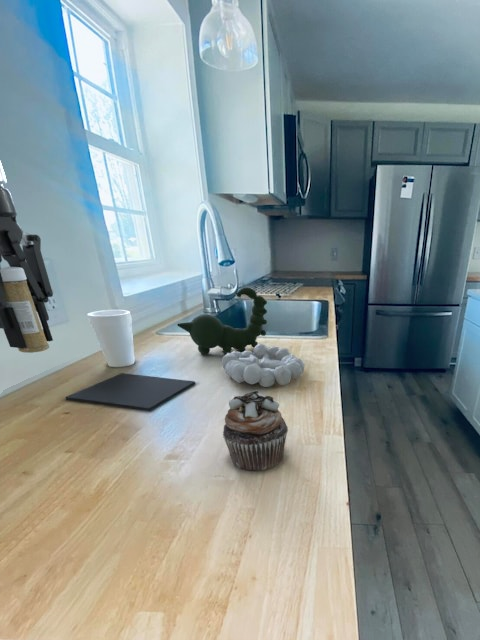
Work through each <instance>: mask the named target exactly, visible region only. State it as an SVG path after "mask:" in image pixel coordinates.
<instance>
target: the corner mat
mask: <svg viewBox="0 0 480 640" xmlns="http://www.w3.org/2000/svg"><path fill="white" fill-rule="evenodd" d="M194 385H196V381H194V380H187V379H186V380H185V379H176V378H169V377H159V376H152V375H151V376H150V375H141V374H134V373H124V372H121V373H119V374H116V375H114V376H112V377H109V378H106V379H104V380H102V381H99V382H97V383H95V384H93V385H90V386H88V387H85V388H83V389H81V390H78V391H76V392H74V393H72V394H69V395H67V396H65V400H68V401H74V402H82V403H89V404H95V405H96V404H97V405H103V406H111V407H117V408H125V409H131V410H141V411H148V412H151V411H152V410H154V409H156V408H158V407H159V406H160V405H162V404H164V403H165V402H166V403H167V401H169V400H171V399H172V398H175V397H176V396H177V395H179V394H180V393H182V392H184V391H186V390H187V389H189V388H191V387H192V386H194Z"/></svg>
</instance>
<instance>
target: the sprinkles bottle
mask: <svg viewBox="0 0 480 640" xmlns="http://www.w3.org/2000/svg"><path fill="white" fill-rule="evenodd" d="M0 267H1V269H0V273H1V276H2V280H3V287H4V293H5V300H6V307H11V308H13V310H14V313H15V316H16V318H17V321H18V324H19V327H20V329H21V332H22V335H23V338H24V340H25V343H26V346H27V347H26V348H17V350H18V351H19V352H20V353H28V354H32V353H39V352H43V351H46V350H48V349H50V344H49V343H48V341H47V340H46V337H45V334H44V332H43V327H42V324H41V321H40V318H39V315H38V313H37V311H36V308H35V305H34V302H33V299H32V296H31V293H30V291H29V288H28V286H27V281H26V279H27V278H26V275H25V272H24V270H23V268H21V267H10V266H0Z"/></svg>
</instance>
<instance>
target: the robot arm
mask: <svg viewBox="0 0 480 640" xmlns="http://www.w3.org/2000/svg"><path fill="white" fill-rule="evenodd" d="M7 183H8V181H7V178H6V174H5V171H4V169H3V165H2V161H0V264H1V263H2V261H3V260H4V261H6V262H7V264H8V267H21V268H23V270H24V272H25V275H26V278H27V279H26V281H27V286H28V288H29V291H30V293H31V296H32V299H33V302H34V305H35V308H36V311H37V313H38V315H39V318H40V321H41V324H42V327H43V332H44V334H45V337H46V340H47V342H52V341H54V339H53V336H52V333H51V329H50V326H49V324H48V321H50V316H49V314H48V311H47V310H48V309H47V307H46V303H48V302H49V298H52V297H53V296H54V292H53V289H52V286H51V282H50V278H49V275H48V271H47V268H46V264H45V261H44V257H43V255H42V250H41V249H42V247H41V245H42V244H41V242H42V241H41V240H42V239H41V237H40V236H39V235H38V234H31V233H28V232H25V231H24V230H23V229H22V227H21V226H20V225H19V223H18V221H17V218H16V217H17V216H18V212H17V209H16V205H15V202H14V199H13V197H12V196H13V195H12V193H11V191H9V189H8V188H5V187H4V186H5V185H6V184H7ZM21 246H22V247H21ZM1 267H2V266H0V269H1ZM0 329H2V330H3V332H4V334H5V337H6V340H7V342H8V345H9V347H10V348H16V349H18V348H26V347H27V346H26V343H25V340H24V338H23V335H22V332H21V329H20V327H19V324H18V321H17V318H16V316H15V313H14V310H13V308H11V307H6V300H5V293H4V287H3V280H2V276H1V273H0Z"/></svg>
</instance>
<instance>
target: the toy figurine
mask: <svg viewBox="0 0 480 640" xmlns="http://www.w3.org/2000/svg"><path fill="white" fill-rule="evenodd" d="M243 295H244V296H246V297H248V298H249V299H251V300H252V303H253V305H252V307H251V314H250V317H249V323H247V325H246V327H243V328H239V327H237V328H233V326H231V325H228V324H223V323H222V321H221V320H220V319H219V318H218V317H216V316H214V315H212V314H208V313H202V314H199V315H196V316H195V317H194V318H193V319H192V320H191V321H189V322H180V323H177V324H176V325H177V327H179V328H180V329H182V330H184V331H186V332H187V333H189V336H190V338H191V340H192V341H193V343H194V344H195V345H196V346H197V350H198V352H199V353H200V354H201V355H204V356H205V355H208V354H209V353H210V351H211V349H214V348H216V347H219V348H221V349H222V351H223V352H224V353H226V354H227V353H231V352H232V349H234V350H238V352H240V353H241V352H244V351H246V348H247V347H248V346H251V347H252V348H253V349H254V348H255V346H256V345H258V344H259V342H258V341H257V339H258V337H260V336H262V337H265V336H266V335H267V331H266V330H265V329H263V326H264V325H267V323H268V321H267V319H265V318H264V316H265V315H266V314H267V313H268V310H267V309H266V307H265V305H267V304H268V301H267V300H266V299H265V298H264V297H263V296H262V295H258V294H257V292H256V290H255V289H254V288H251V287H242V288H241V289H239V290H238V291H237V292H236V297H237V298H239V297H240V296H243Z"/></svg>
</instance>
